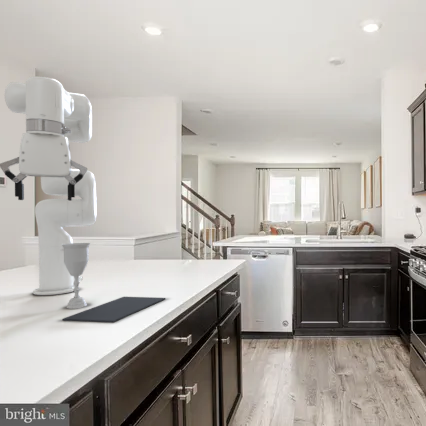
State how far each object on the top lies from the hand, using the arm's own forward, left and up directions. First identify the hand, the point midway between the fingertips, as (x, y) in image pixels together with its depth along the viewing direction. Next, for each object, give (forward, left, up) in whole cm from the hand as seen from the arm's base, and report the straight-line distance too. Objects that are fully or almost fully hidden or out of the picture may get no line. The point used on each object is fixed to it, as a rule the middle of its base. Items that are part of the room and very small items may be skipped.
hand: (46, 200), depth 91 cm
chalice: (-15, -5, -30) cm, 35 cm away
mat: (-14, +9, -30) cm, 35 cm away
